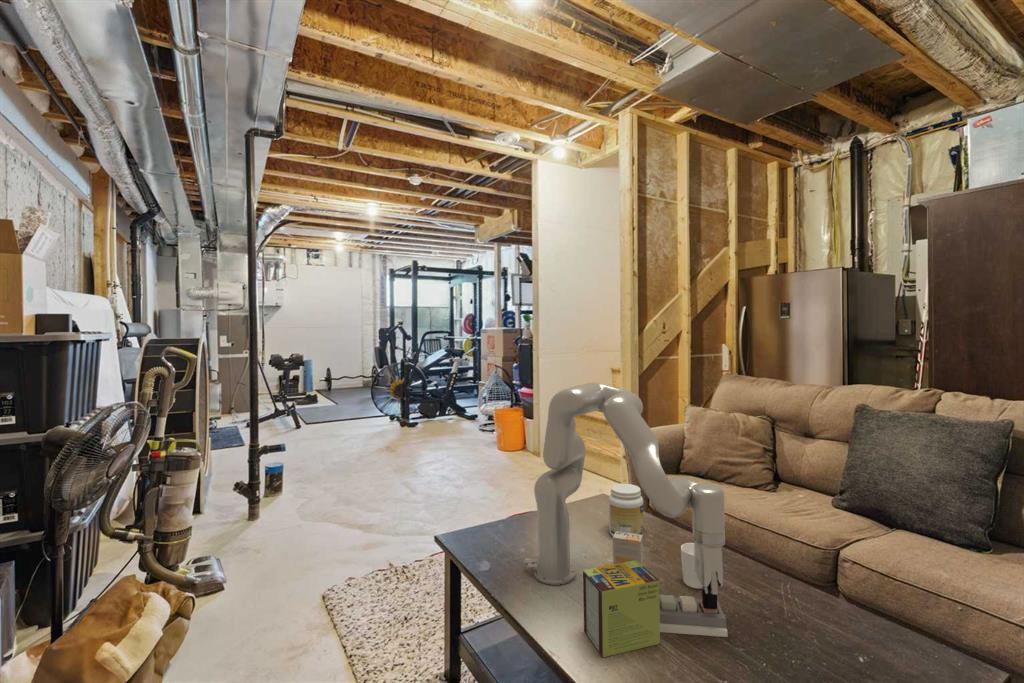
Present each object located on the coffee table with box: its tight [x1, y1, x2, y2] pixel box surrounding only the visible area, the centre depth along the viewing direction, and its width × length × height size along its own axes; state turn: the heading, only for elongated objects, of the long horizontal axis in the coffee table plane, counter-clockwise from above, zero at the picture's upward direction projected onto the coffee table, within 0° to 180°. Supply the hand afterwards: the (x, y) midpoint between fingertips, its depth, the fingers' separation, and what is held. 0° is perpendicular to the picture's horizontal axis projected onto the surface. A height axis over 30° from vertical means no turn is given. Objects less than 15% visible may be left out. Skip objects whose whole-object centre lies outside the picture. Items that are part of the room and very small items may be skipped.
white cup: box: [680, 542, 703, 590], centre depth 137 cm, size 8×8×10 cm
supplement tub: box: [608, 483, 645, 537], centre depth 169 cm, size 12×12×17 cm
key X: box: [679, 595, 697, 612], centre depth 119 cm, size 3×3×2 cm
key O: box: [659, 594, 676, 611], centre depth 120 cm, size 3×3×2 cm
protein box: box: [582, 560, 661, 658], centre depth 114 cm, size 10×15×16 cm
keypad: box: [659, 596, 729, 638], centre depth 120 cm, size 16×10×4 cm, turn 81°
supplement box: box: [612, 531, 644, 566], centre depth 140 cm, size 8×5×13 cm, turn 65°
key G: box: [700, 602, 718, 614], centre depth 119 cm, size 3×3×2 cm
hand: (709, 606), depth 119 cm, fingers closed
